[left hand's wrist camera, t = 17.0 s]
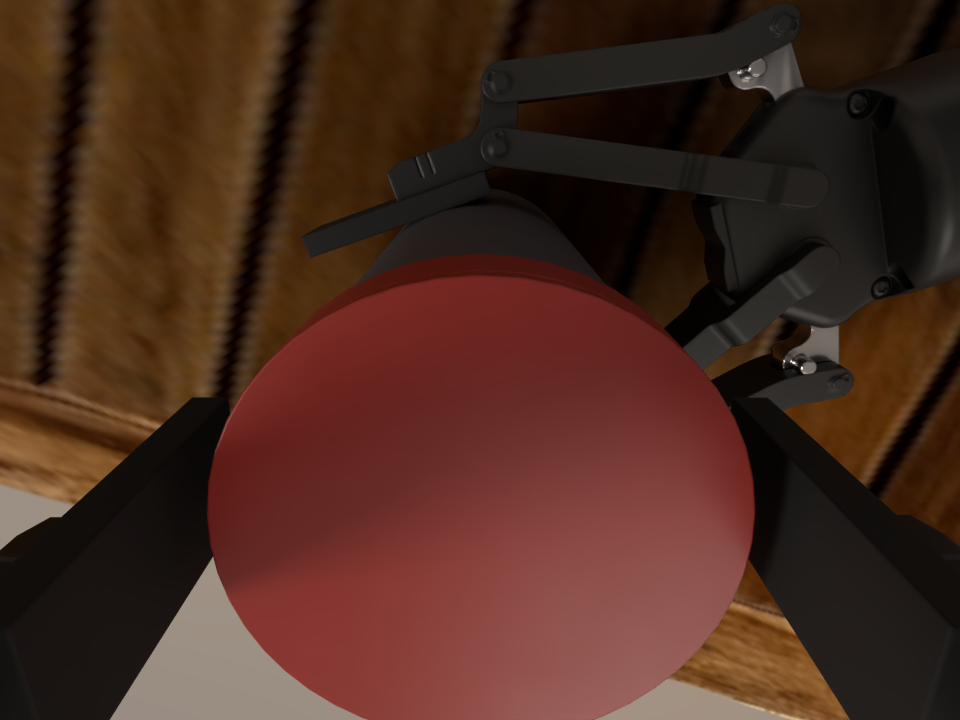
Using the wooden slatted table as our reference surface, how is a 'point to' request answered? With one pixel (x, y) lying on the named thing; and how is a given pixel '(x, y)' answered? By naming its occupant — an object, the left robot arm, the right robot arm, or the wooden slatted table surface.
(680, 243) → the wooden slatted table surface
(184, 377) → the wooden slatted table surface
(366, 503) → the lid
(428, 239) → the jar
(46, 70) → the wooden slatted table surface
